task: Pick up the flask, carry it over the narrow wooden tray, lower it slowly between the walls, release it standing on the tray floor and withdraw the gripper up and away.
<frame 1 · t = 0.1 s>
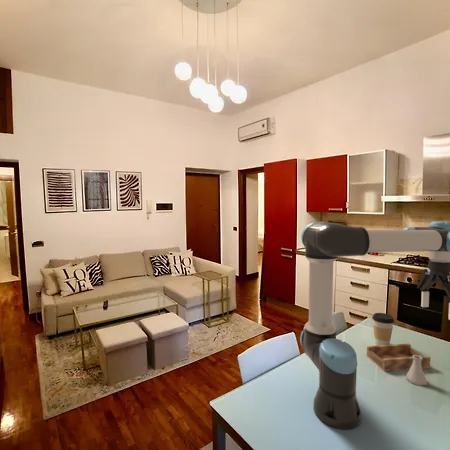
hand: (437, 312, 115), 28 cm above the table, fingers open, 13 cm apart
coffee cup: (382, 345, 146), on the table
wooden tray: (397, 362, 129), on the table
flask: (416, 381, 116), on the table
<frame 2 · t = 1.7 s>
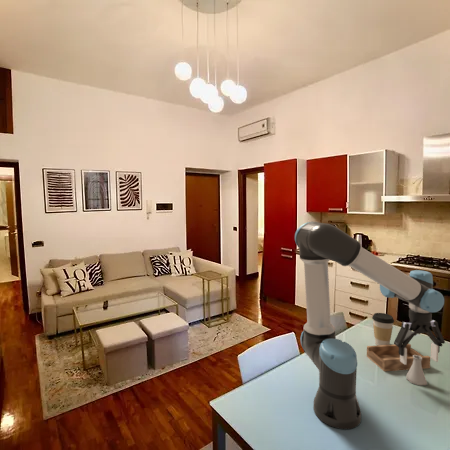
hand: (418, 361, 115), 8 cm above the table, fingers open, 13 cm apart
nothing on the table moved.
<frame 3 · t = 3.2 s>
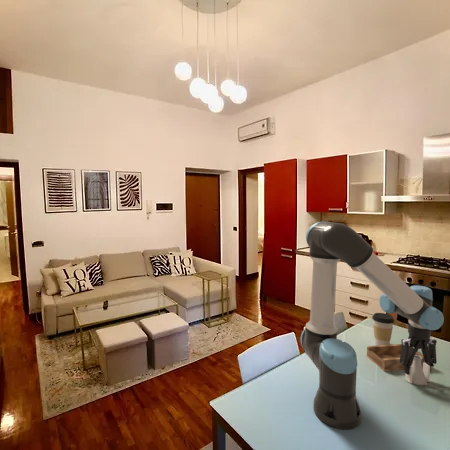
hand: (417, 380, 115), 0 cm above the table, fingers closed on flask, 7 cm apart
flask: (416, 381, 116), on the table, touching gripper
everything else where it was.
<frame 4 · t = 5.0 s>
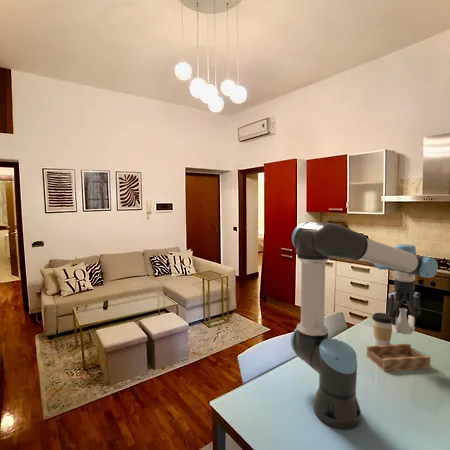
hand: (402, 331, 126), 16 cm above the table, fingers closed on flask, 7 cm apart
flask: (402, 331, 126), point 15 cm above the table, touching gripper
everything else where it was.
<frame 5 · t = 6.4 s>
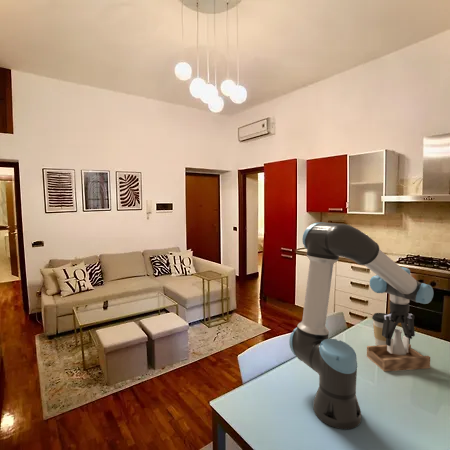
hand: (397, 351, 129), 5 cm above the table, fingers closed on flask, 7 cm apart
flask: (397, 352, 130), point 4 cm above the table, touching gripper
everything else where it was.
when the fingers open (3 cm above the table, at t = 7.1 s): flask drops 2 cm, resting on wooden tray.
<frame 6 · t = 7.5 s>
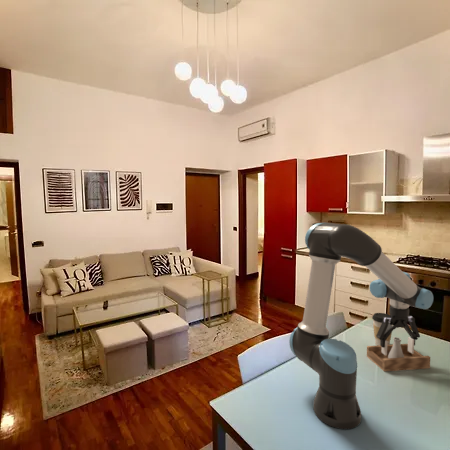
hand: (397, 353, 129), 4 cm above the table, fingers open, 12 cm apart
flask: (396, 360, 130), point 1 cm above the table, touching wooden tray
everything else where it was.
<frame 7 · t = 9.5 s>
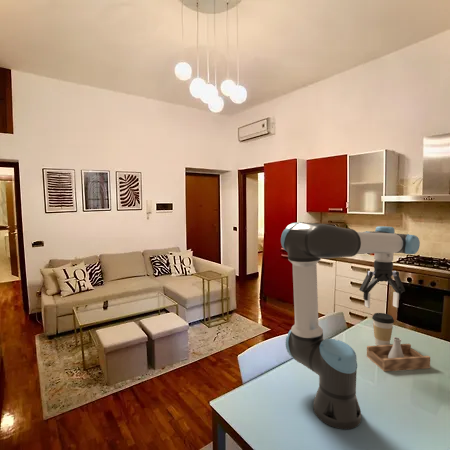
hand: (381, 306, 130), 25 cm above the table, fingers open, 13 cm apart
nothing on the table moved.
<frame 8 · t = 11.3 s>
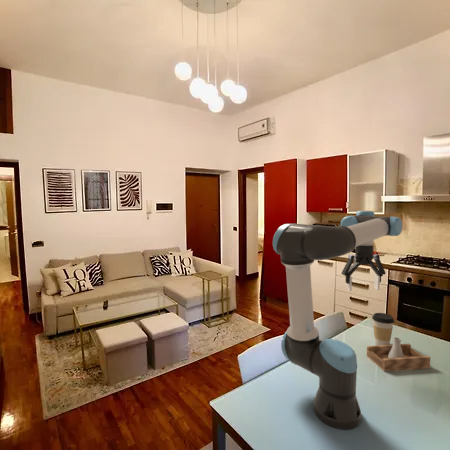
hand: (363, 289, 133), 32 cm above the table, fingers open, 13 cm apart
nothing on the table moved.
at the end: flask inside the target area on the wooden tray (0.4 cm from its centre), point 0.6 cm above the wooden tray's base; flask tilted 0°; the gripper is holding nothing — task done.
